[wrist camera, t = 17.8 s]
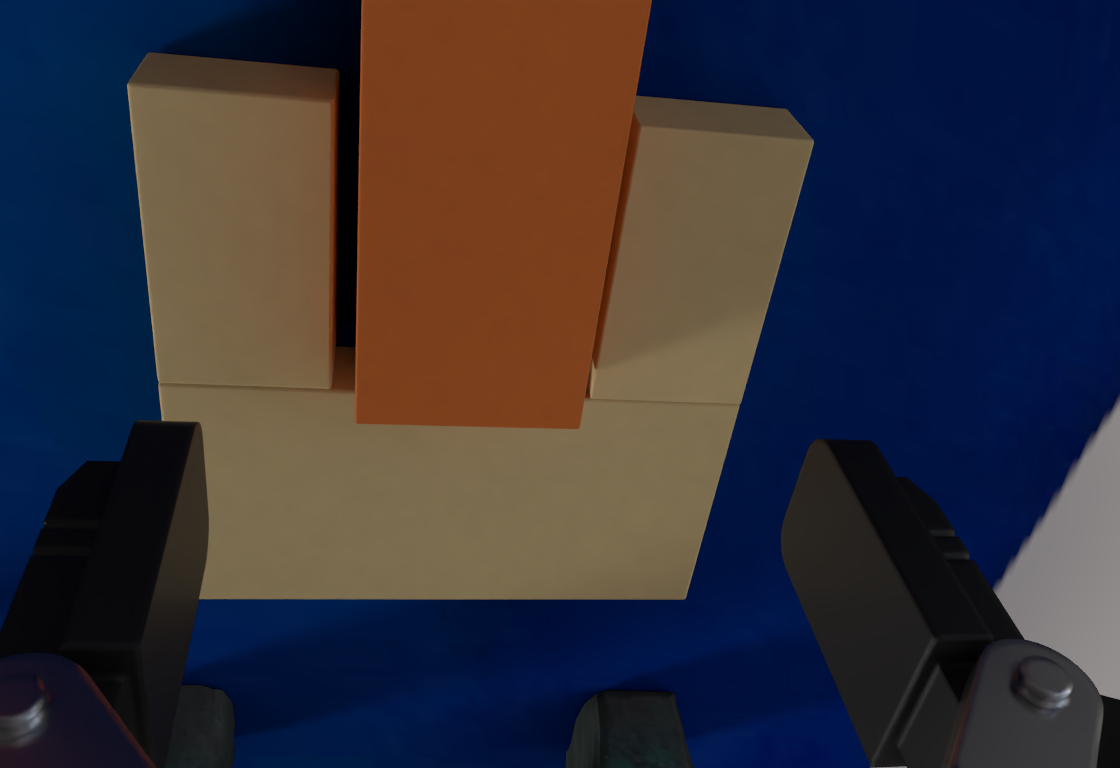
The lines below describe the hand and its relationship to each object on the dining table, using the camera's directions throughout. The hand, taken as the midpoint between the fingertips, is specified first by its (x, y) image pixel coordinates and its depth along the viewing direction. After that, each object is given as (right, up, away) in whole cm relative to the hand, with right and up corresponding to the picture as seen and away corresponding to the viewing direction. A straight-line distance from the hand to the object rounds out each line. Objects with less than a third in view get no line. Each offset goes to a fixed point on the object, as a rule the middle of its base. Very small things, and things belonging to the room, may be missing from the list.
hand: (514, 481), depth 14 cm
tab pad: (-1, +7, +10) cm, 12 cm away
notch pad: (-2, +2, +13) cm, 13 cm away
